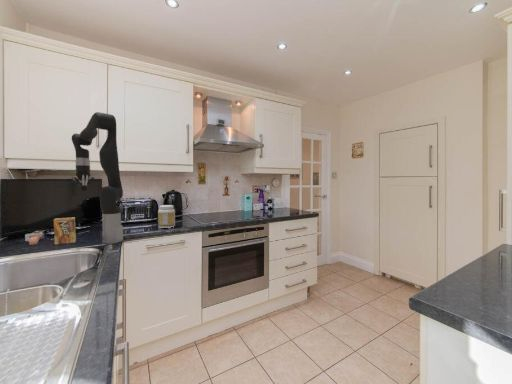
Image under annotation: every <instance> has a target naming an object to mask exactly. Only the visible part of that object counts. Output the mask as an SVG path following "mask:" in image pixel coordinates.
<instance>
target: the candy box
mask: <svg viewBox="0 0 512 384" xmlns="http://www.w3.org/2000/svg"><path fill="white" fill-rule="evenodd" d="M76 230H77V229H76V217H75V216H74V217H61V218H60V217H59V218H57V217H56V218H54V219H53V233H54V234H53V235H54V245H64V244H72V243H74V244H73V246H75V245H76V242H77V235H76Z"/></svg>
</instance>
